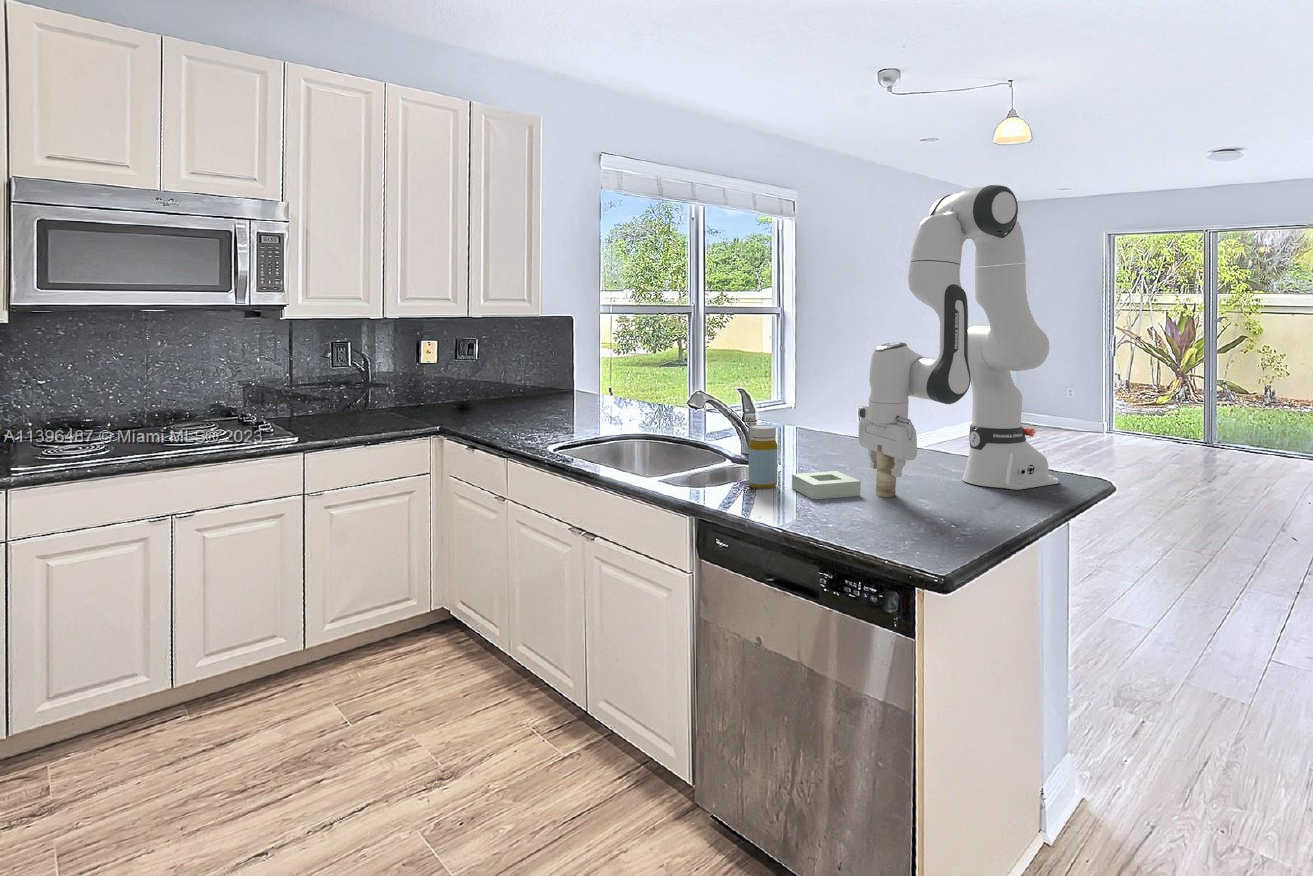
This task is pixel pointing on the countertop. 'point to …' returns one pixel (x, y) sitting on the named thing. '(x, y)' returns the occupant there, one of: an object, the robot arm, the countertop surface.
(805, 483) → the socket
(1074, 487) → the countertop surface
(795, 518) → the countertop surface
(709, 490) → the countertop surface
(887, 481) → the peg
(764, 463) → the bottle
